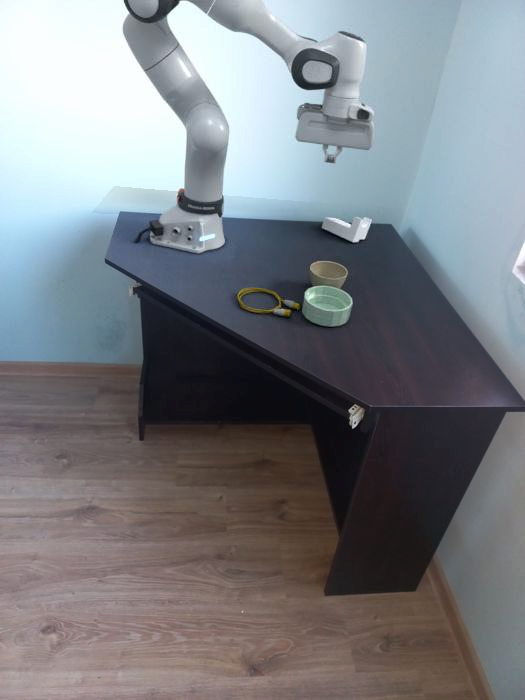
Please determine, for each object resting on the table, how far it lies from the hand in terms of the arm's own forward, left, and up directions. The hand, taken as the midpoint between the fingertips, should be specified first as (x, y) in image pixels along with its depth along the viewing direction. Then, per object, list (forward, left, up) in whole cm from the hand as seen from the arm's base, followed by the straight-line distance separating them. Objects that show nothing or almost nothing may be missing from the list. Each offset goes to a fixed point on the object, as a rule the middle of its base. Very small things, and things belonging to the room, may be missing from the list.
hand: (329, 162), depth 143 cm
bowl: (+3, -30, -29) cm, 42 cm away
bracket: (+11, +22, -29) cm, 38 cm away
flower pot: (+3, -19, -29) cm, 35 cm away
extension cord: (-12, -29, -29) cm, 43 cm away
